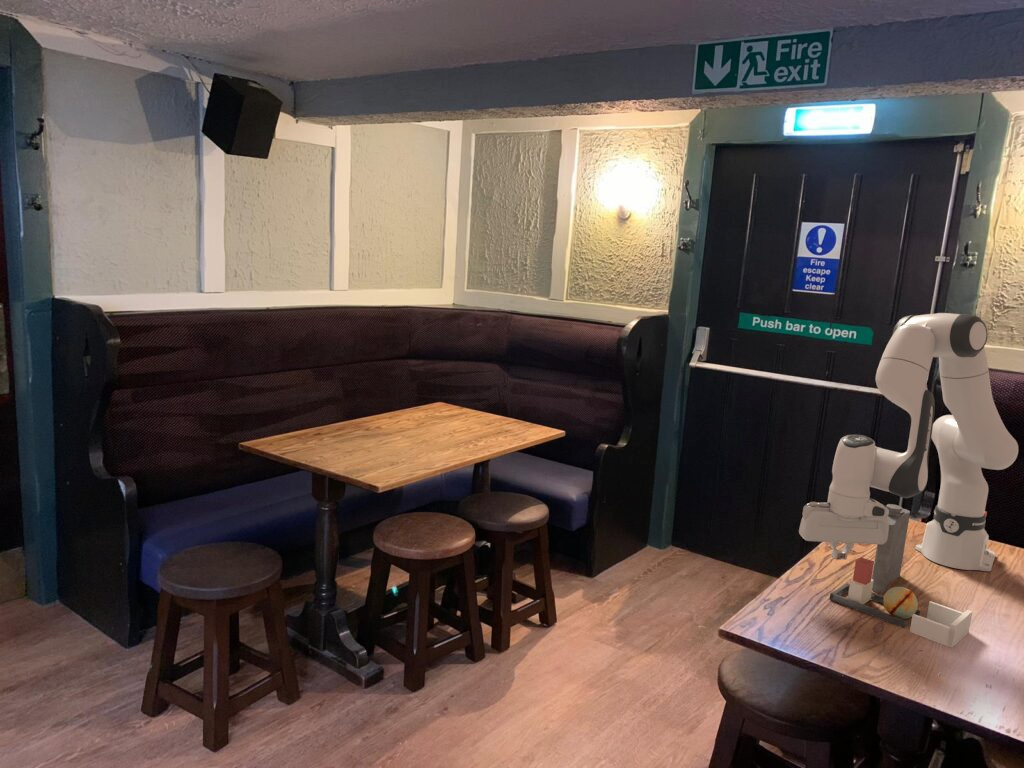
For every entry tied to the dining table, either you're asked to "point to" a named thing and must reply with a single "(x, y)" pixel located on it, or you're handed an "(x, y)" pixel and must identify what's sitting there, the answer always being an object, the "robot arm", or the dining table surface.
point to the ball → (900, 602)
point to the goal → (942, 624)
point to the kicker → (861, 581)
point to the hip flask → (891, 549)
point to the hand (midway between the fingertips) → (839, 558)
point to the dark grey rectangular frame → (866, 609)
